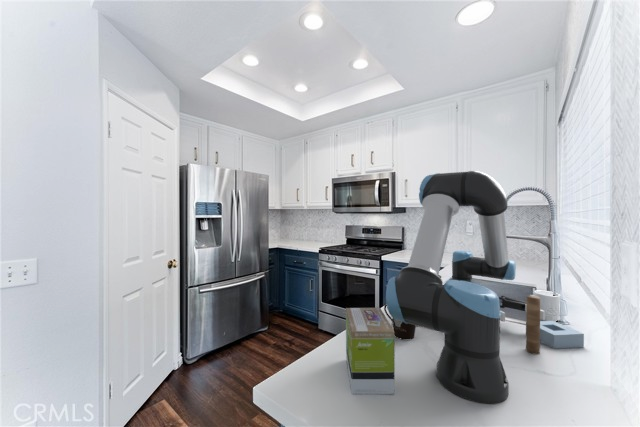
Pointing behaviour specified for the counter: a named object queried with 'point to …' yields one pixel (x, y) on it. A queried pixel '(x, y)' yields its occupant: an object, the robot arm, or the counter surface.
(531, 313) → the dowel
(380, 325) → the tea box
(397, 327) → the coffee mug
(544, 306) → the white cup
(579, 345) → the socket block
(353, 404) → the counter surface
